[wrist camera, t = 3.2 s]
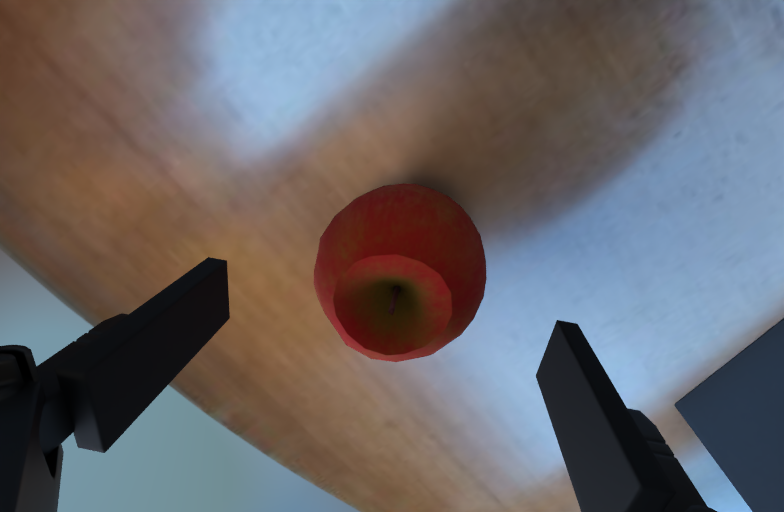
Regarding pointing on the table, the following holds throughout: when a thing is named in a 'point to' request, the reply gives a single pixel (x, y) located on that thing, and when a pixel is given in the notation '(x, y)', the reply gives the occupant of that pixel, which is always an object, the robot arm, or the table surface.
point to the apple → (400, 272)
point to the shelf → (746, 420)
